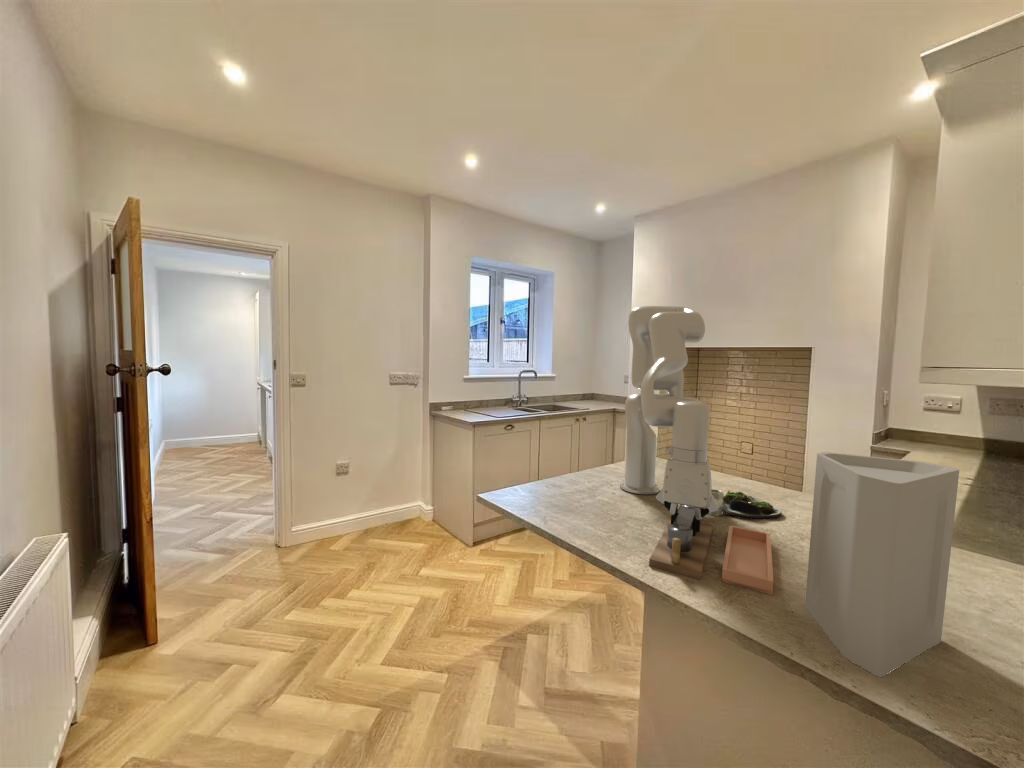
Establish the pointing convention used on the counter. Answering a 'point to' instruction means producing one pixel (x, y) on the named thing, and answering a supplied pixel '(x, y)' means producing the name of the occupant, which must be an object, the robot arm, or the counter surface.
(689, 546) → the grey long knobbed bar
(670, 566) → the board
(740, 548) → the slot holder
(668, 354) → the robot arm
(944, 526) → the paper bag
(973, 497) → the counter surface
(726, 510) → the salad plate
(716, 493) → the valve
